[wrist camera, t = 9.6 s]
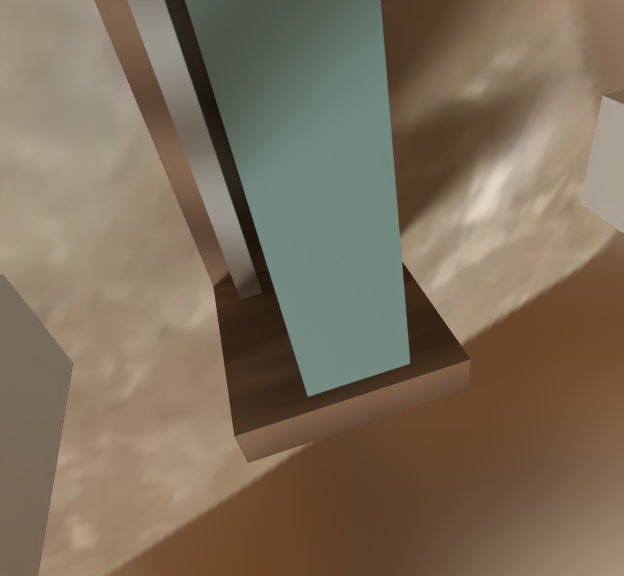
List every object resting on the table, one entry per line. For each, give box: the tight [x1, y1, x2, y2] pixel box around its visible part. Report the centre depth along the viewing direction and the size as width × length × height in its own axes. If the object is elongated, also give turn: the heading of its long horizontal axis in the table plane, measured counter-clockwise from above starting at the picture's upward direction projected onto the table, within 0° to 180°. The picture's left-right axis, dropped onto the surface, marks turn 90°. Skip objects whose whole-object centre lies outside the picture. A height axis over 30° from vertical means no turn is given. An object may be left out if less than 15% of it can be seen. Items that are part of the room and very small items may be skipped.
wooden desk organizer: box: [95, 0, 471, 463], centre depth 17 cm, size 24×10×11 cm, turn 11°
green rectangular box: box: [185, 0, 410, 397], centre depth 16 cm, size 12×4×12 cm, turn 11°
